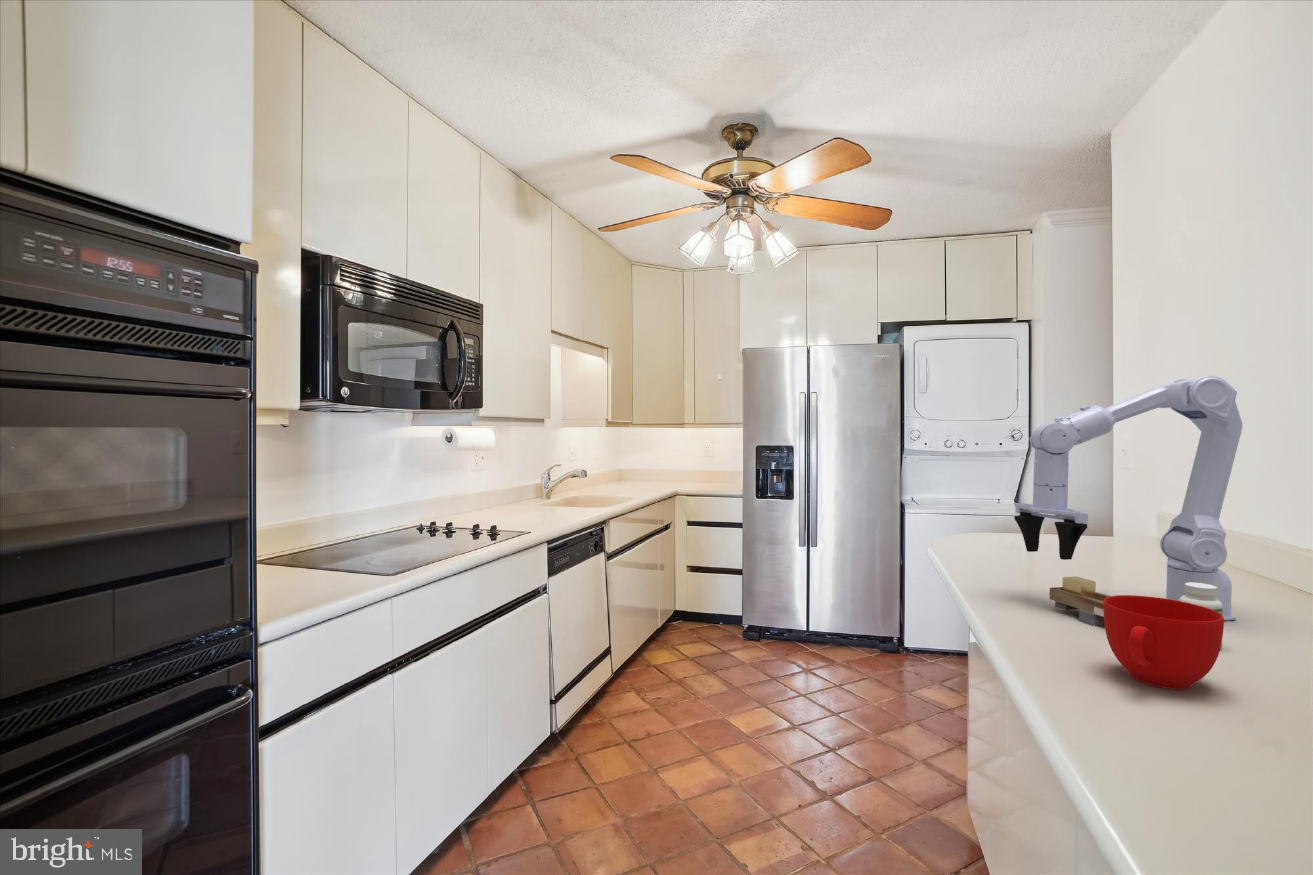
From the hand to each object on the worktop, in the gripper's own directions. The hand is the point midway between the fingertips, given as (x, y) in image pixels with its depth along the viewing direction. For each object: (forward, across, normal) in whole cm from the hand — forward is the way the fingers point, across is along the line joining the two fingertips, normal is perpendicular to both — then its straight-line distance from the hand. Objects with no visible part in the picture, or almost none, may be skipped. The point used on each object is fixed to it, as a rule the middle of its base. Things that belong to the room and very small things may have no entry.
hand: (1048, 555), depth 123 cm
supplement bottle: (+10, +24, +5) cm, 26 cm away
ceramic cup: (+10, +34, -18) cm, 40 cm away
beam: (+10, +11, +1) cm, 15 cm away
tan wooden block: (+7, +6, +1) cm, 9 cm away
